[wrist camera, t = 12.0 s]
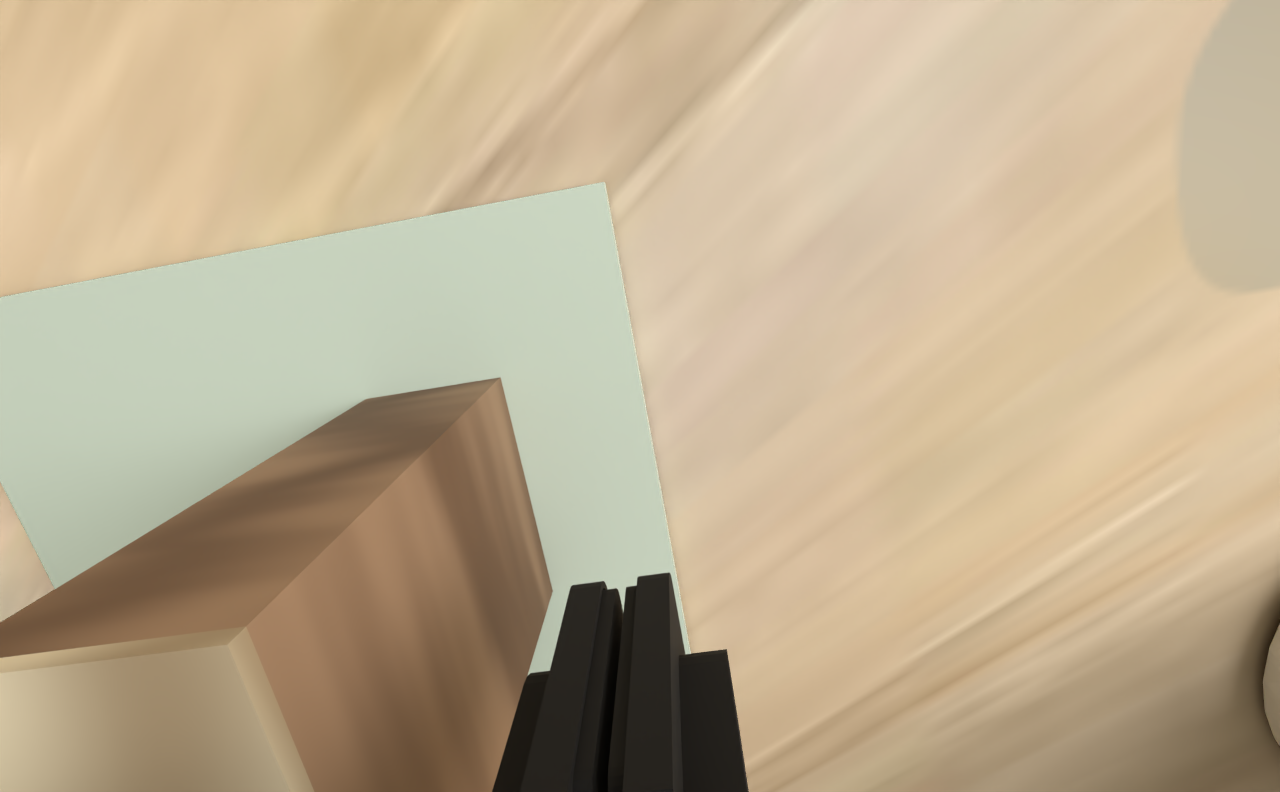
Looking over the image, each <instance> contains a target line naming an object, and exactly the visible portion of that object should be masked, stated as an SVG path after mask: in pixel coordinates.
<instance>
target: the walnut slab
mask: <svg viewBox="0 0 1280 792" xmlns="http://www.w3.org/2000/svg"><path fill="white" fill-rule="evenodd" d="M552 592H553V590H552V586H551V582H550V577H549V573H548V569H547V565H546V561H545V557H544V553H543V549H542V545H541V541H540V537H539V532H538V528H537V524H536V520H535V516H534V512H533V508H532V504H531V500H530V496H529V492H528V487H527V483H526V479H525V475H524V471H523V467H522V463H521V459H520V455H519V451H518V447H517V442H516V438H515V434H514V430H513V426H512V422H511V418H510V414H509V410H508V406H507V402H506V397H505V393H504V389H503V385H502V381H501V377H500V378H493V379H487V380H481V381H475V382H468V383H462V384H456V385H450V386H443V387H437V388H431V389H425V390H418V391H412V392H406V393H400V394H394V395H387V396H381V397H375V398H369V399H365V400H363V401H362V402H360V403H359V404H357V405H355V406H354V407H352V408H350V409H349V410H347V411H345V412H344V413H342V414H341V415H339V416H337V417H336V418H334V419H332V420H331V421H329V422H327V423H326V424H324V425H323V426H321V427H319V428H318V429H316V430H314V431H313V432H311V433H310V434H308V435H306V436H305V437H303V438H301V439H300V440H298V441H296V442H295V443H293V444H292V445H290V446H288V447H287V448H285V449H283V450H282V451H280V452H278V453H277V454H275V455H274V456H272V457H270V458H269V459H267V460H265V461H264V462H262V463H260V464H259V465H257V466H256V467H254V468H252V469H251V470H249V471H247V472H246V473H244V474H243V475H241V476H239V477H238V478H236V479H234V480H233V481H231V482H229V483H228V484H226V485H225V486H223V487H221V488H220V489H218V490H216V491H215V492H213V493H211V494H210V495H208V496H207V497H205V498H203V499H202V500H200V501H198V502H197V503H195V504H193V505H192V506H190V507H189V508H187V509H185V510H184V511H182V512H180V513H179V514H177V515H175V516H174V517H172V518H171V519H169V520H167V521H166V522H164V523H162V524H161V525H159V526H158V527H156V528H154V529H153V530H151V531H149V532H148V533H146V534H144V535H143V536H141V537H140V538H138V539H136V540H135V541H133V542H131V543H130V544H128V545H126V546H125V547H123V548H122V549H120V550H118V551H117V552H115V553H113V554H112V555H110V556H108V557H107V558H105V559H104V560H102V561H100V562H99V563H97V564H95V565H94V566H92V567H91V568H89V569H87V570H86V571H84V572H82V573H81V574H79V575H77V576H76V577H74V578H73V579H71V580H69V581H68V582H66V583H64V584H63V585H61V586H59V587H58V588H56V589H55V590H53V591H51V592H50V593H48V594H46V595H45V596H43V597H41V598H40V599H38V600H37V601H35V602H33V603H32V604H30V605H28V606H27V607H25V608H24V609H22V610H20V611H19V612H17V613H15V614H14V615H12V616H10V617H9V618H7V619H6V620H4V621H2V622H1V623H0V792H492V790H493V787H494V783H495V780H496V777H497V773H498V770H499V766H500V763H501V760H502V756H503V753H504V750H505V746H506V743H507V739H508V736H509V733H510V729H511V726H512V722H513V719H514V716H515V712H516V709H517V705H518V702H519V699H520V695H521V692H522V688H523V685H524V682H525V680H526V678H527V675H528V672H529V669H530V665H531V662H532V659H533V655H534V652H535V649H536V645H537V642H538V639H539V635H540V632H541V629H542V625H543V622H544V619H545V616H546V612H547V609H548V606H549V602H550V599H551V596H552Z"/></svg>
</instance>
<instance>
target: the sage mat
mask: <svg viewBox="0 0 1280 792" xmlns="http://www.w3.org/2000/svg"><path fill="white" fill-rule="evenodd" d="M500 377H501V381H502V385H503V389H504V393H505V397H506V402H507V406H508V410H509V414H510V418H511V422H512V426H513V430H514V434H515V438H516V442H517V447H518V451H519V455H520V459H521V463H522V467H523V471H524V475H525V479H526V483H527V487H528V492H529V496H530V500H531V504H532V508H533V512H534V516H535V520H536V524H537V528H538V532H539V537H540V541H541V545H542V549H543V553H544V557H545V561H546V565H547V569H548V573H549V577H550V582H551V586H552V590H553V592H552V596H551V599H550V602H549V606H548V609H547V612H546V616H545V619H544V622H543V625H542V629H541V632H540V635H539V639H538V642H537V645H536V649H535V652H534V655H533V659H532V662H531V665H530V669H529V672H528V675H529V674H530V673H535V672H544V671H550V668H551V664H552V660H553V656H554V652H555V648H556V644H557V640H558V635H559V631H560V627H561V623H562V619H563V615H564V611H565V607H566V603H567V599H568V595H569V591H570V588H571V586H572V585H577V584H585V583H592V582H600V581H604V582H605V584H606V586H607V589H614V588H617V589H618V591H619V595H620V599H621V604H622V608H623V612H624V602H625V592H626V587H630V586H637V578H638V576H645V575H653V574H660V573H668V572H670V574H671V578H672V583H673V588H674V594H675V599H676V605H677V610H678V616H679V621H680V627H681V632H682V638H683V643H684V649H685V654H691V651H690V645H689V640H688V634H687V629H686V623H685V618H684V612H683V607H682V602H681V596H680V591H679V585H678V580H677V574H676V569H675V563H674V558H673V552H672V547H671V541H670V536H669V530H668V525H667V519H666V514H665V508H664V503H663V497H662V492H661V486H660V481H659V475H658V470H657V464H656V459H655V453H654V448H653V442H652V437H651V431H650V426H649V420H648V415H647V409H646V404H645V399H644V393H643V388H642V382H641V377H640V371H639V366H638V360H637V355H636V349H635V344H634V338H633V333H632V327H631V322H630V316H629V311H628V305H627V300H626V294H625V289H624V283H623V278H622V272H621V267H620V261H619V256H618V250H617V245H616V239H615V234H614V228H613V223H612V217H611V212H610V206H609V201H608V196H607V190H606V185H605V182H601V183H596V184H591V185H585V186H580V187H575V188H570V189H564V190H559V191H554V192H549V193H544V194H538V195H533V196H528V197H523V198H517V199H512V200H507V201H502V202H496V203H491V204H486V205H481V206H475V207H470V208H465V209H460V210H454V211H449V212H444V213H439V214H433V215H428V216H423V217H418V218H413V219H407V220H402V221H397V222H392V223H386V224H381V225H376V226H371V227H365V228H360V229H355V230H350V231H344V232H339V233H334V234H329V235H323V236H318V237H313V238H308V239H302V240H297V241H292V242H287V243H282V244H276V245H271V246H266V247H261V248H255V249H250V250H245V251H240V252H234V253H229V254H224V255H219V256H213V257H208V258H203V259H198V260H192V261H187V262H182V263H177V264H172V265H166V266H161V267H156V268H151V269H145V270H140V271H135V272H130V273H124V274H119V275H114V276H109V277H103V278H98V279H93V280H88V281H82V282H77V283H72V284H67V285H61V286H56V287H51V288H46V289H41V290H35V291H30V292H25V293H20V294H14V295H9V296H4V297H0V483H1V485H2V486H3V488H4V490H5V492H6V494H7V496H8V498H9V500H10V502H11V504H12V506H13V508H14V510H15V512H16V514H17V516H18V518H19V520H20V522H21V524H22V526H23V528H24V530H25V532H26V534H27V535H28V537H29V539H30V541H31V543H32V545H33V547H34V549H35V551H36V553H37V555H38V557H39V559H40V561H41V563H42V565H43V567H44V569H45V571H46V573H47V575H48V577H49V579H50V581H51V583H52V584H53V586H54V588H55V589H56V588H58V587H59V586H61V585H63V584H64V583H66V582H68V581H69V580H71V579H73V578H74V577H76V576H77V575H79V574H81V573H82V572H84V571H86V570H87V569H89V568H91V567H92V566H94V565H95V564H97V563H99V562H100V561H102V560H104V559H105V558H107V557H108V556H110V555H112V554H113V553H115V552H117V551H118V550H120V549H122V548H123V547H125V546H126V545H128V544H130V543H131V542H133V541H135V540H136V539H138V538H140V537H141V536H143V535H144V534H146V533H148V532H149V531H151V530H153V529H154V528H156V527H158V526H159V525H161V524H162V523H164V522H166V521H167V520H169V519H171V518H172V517H174V516H175V515H177V514H179V513H180V512H182V511H184V510H185V509H187V508H189V507H190V506H192V505H193V504H195V503H197V502H198V501H200V500H202V499H203V498H205V497H207V496H208V495H210V494H211V493H213V492H215V491H216V490H218V489H220V488H221V487H223V486H225V485H226V484H228V483H229V482H231V481H233V480H234V479H236V478H238V477H239V476H241V475H243V474H244V473H246V472H247V471H249V470H251V469H252V468H254V467H256V466H257V465H259V464H260V463H262V462H264V461H265V460H267V459H269V458H270V457H272V456H274V455H275V454H277V453H278V452H280V451H282V450H283V449H285V448H287V447H288V446H290V445H292V444H293V443H295V442H296V441H298V440H300V439H301V438H303V437H305V436H306V435H308V434H310V433H311V432H313V431H314V430H316V429H318V428H319V427H321V426H323V425H324V424H326V423H327V422H329V421H331V420H332V419H334V418H336V417H337V416H339V415H341V414H342V413H344V412H345V411H347V410H349V409H350V408H352V407H354V406H355V405H357V404H359V403H360V402H362V401H363V400H365V399H369V398H375V397H381V396H387V395H394V394H400V393H406V392H412V391H418V390H425V389H431V388H437V387H443V386H450V385H456V384H462V383H468V382H475V381H481V380H487V379H493V378H500ZM528 675H527V676H528Z"/></svg>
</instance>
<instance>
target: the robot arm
mask: <svg viewBox="0 0 1280 792" xmlns="http://www.w3.org/2000/svg"><path fill="white" fill-rule="evenodd" d="M1263 691H1264V708H1265V713H1266V716H1267V719H1268V722H1269V725H1270V728H1271V730H1272V733H1273V736H1274V738H1275V740H1276V741H1277V743H1278V744H1279V745H1280V624H1279V626H1278V628H1277V631H1276V633H1275V635H1274V638H1273V640H1272V642H1271V645H1270V647H1269V652H1268V657H1267V662H1266V667H1265V672H1264V678H1263ZM492 792H749V791H748V784H747V778H746V771H745V764H744V758H743V751H742V744H741V738H740V731H739V725H738V718H737V712H736V705H735V699H734V692H733V686H732V680H731V673H730V667H729V661H728V655H727V649H726V650H718V651H709V652H701V653H693V654H685V649H684V643H683V638H682V632H681V627H680V621H679V616H678V610H677V605H676V599H675V594H674V588H673V583H672V578H671V574H670V572H668V573H660V574H653V575H645V576H638V578H637V586H630V587H626V592H625V602H624V612H623V608H622V604H621V599H620V595H619V591H618V589H617V588H614V589H607V586H606V584H605V582H604V581H600V582H592V583H585V584H577V585H572V586H571V588H570V591H569V595H568V599H567V603H566V607H565V611H564V615H563V619H562V623H561V627H560V631H559V635H558V640H557V644H556V648H555V652H554V656H553V660H552V664H551V668H550V671H544V672H535V673H530V674H529V675H528V676H527V678H526V680H525V682H524V685H523V688H522V692H521V695H520V699H519V702H518V705H517V709H516V712H515V716H514V719H513V722H512V726H511V729H510V733H509V736H508V739H507V743H506V746H505V750H504V753H503V756H502V760H501V763H500V766H499V770H498V773H497V777H496V780H495V783H494V787H493V790H492Z"/></svg>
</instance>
